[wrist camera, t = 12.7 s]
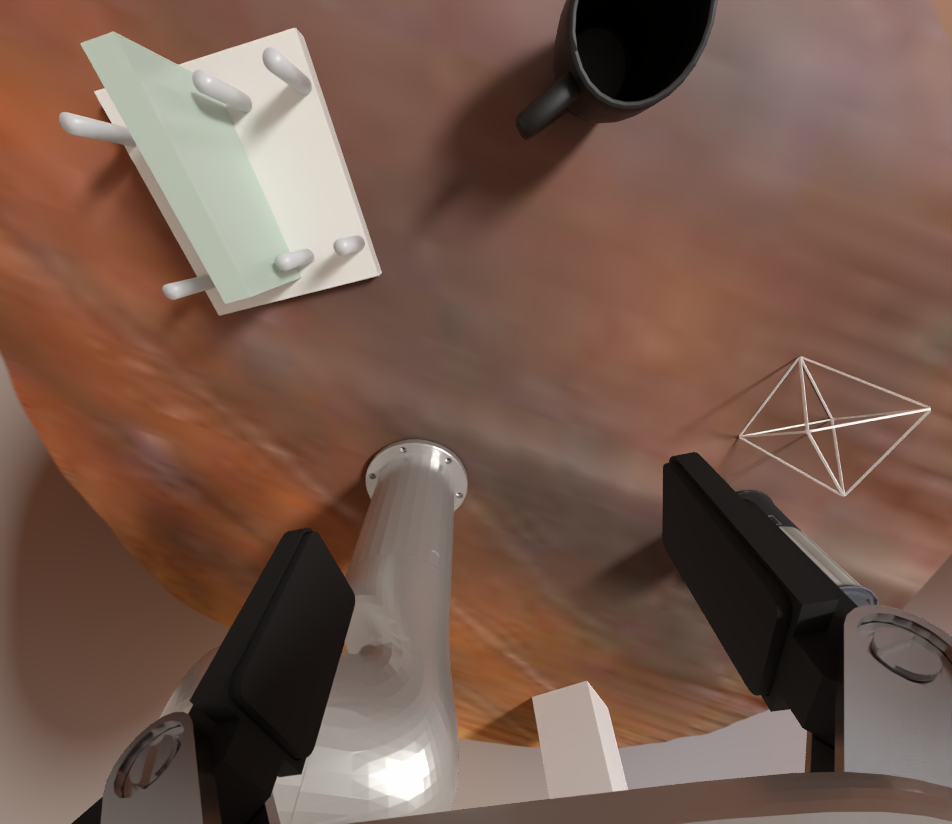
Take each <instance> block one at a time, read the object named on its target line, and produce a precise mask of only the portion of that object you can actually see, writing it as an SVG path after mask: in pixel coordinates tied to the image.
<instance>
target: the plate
mask: <svg viewBox="0 0 952 824" xmlns="http://www.w3.org/2000/svg"><path fill="white" fill-rule="evenodd" d="M80 44H81V46H82V47H83V49H84V51H85V53H86V55H87V56H88V58H89V60H90V62H91V64H92V65H93V67H94V69H95V71H96V73H97V74H98V76H99V78H100V80H101V82H102V83H103V85H104V87H105V89H106V91H107V92H108V94H109V96H110V98H111V100H112V101H113V103H114V105H115V107H116V109H117V110H118V112H119V114H120V116H121V118H122V119H123V121H124V123H125V125H126V127H127V128H128V130H129V132H130V134H131V136H132V137H133V139H134V141H135V143H136V145H137V146H138V148H139V150H140V152H141V154H142V155H143V157H144V159H145V161H146V163H147V164H148V166H149V168H150V170H151V171H152V173H153V175H154V177H155V179H156V180H157V182H158V184H159V186H160V188H161V189H162V191H163V193H164V195H165V197H166V198H167V200H168V202H169V204H170V206H171V207H172V209H173V211H174V213H175V215H176V216H177V218H178V220H179V222H180V224H181V225H182V227H183V229H184V231H185V233H186V234H187V236H188V238H189V240H190V242H191V243H192V245H193V247H194V249H195V251H196V252H197V254H198V256H199V258H200V260H201V261H202V263H203V265H204V267H205V269H206V270H207V272H208V274H209V276H210V278H211V279H212V281H213V283H214V285H215V287H216V288H217V290H218V292H219V294H220V296H221V297H222V299H223V301H224V303H225V304H227V303H231V302H234V301H238V300H242V299H246V298H249V297H252V296H255V295H258V294H260V293H263V292H265V291H268V290H270V289H273V288H276V287H278V286H281V285H283V284H286V283H288V282H291V281H294V280H296V279H299V278H301V275H300V273H299V271H298V268H293V269H290V270H287V271H282V270H280V269H279V268H278V267H277V266H276V264H275V258H276V256H277V255H279V254H284V253H288V252H290V250H289V248H288V246H287V244H286V242H285V239H284V237H283V235H282V233H281V230H280V228H279V226H278V224H277V221H276V219H275V217H274V215H273V212H272V210H271V208H270V206H269V203H268V201H267V199H266V197H265V194H264V192H263V190H262V188H261V185H260V183H259V181H258V179H257V176H256V174H255V172H254V170H253V167H252V165H251V163H250V161H249V158H248V156H247V154H246V152H245V149H244V147H243V145H242V143H241V140H240V138H239V136H238V134H237V131H236V129H235V127H234V125H233V122H232V120H231V118H230V116H229V113H228V111H227V109H226V107H225V105H224V103H222V102H220V101H218V100H216V99H213V98H211V97H209V96H207V95H205V94H202V93H200V92H199V91H198V90H197V89H196V88H195V86H194V84H193V80H192V75H193V72H191V71H189V70H187V69H185V68H183V67H181V66H179V65H177V64H175V63H174V62H172V61H170V60H168V59H166V58H164V57H162V56H160V55H158V54H156V53H154V52H152V51H150V50H148V49H146V48H144V47H142V46H141V45H139V44H137V43H135V42H133V41H131V40H129V39H127V38H125V37H123V36H121V35H119V34H117V33H115V32H111V33H108V34H105V35H102V36H99V37H97V38H94V39H91V40H88V41H85V42H83V43H80Z"/></svg>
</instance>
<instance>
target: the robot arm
mask: <svg viewBox="0 0 952 824" xmlns="http://www.w3.org/2000/svg"><path fill="white" fill-rule="evenodd" d="M365 484H366V489H367V492H368V494H369V496H370V499H371V502H370V505H369V508H368V511H367V514H366V517H365V520H364V523H363V526H362V529H361V532H360V535H359V538H358V541H357V544H356V547H355V550H354V552H353V555H352V558H351V561H350V564H349V567H348V571H347V574H346V577H344V575H343V573H342V572H341V570H340V568H339V567H338V565H337V563H336V562H335V560H334V558H333V557H332V555H331V553H330V552H329V550H328V548H327V547H326V545H325V543H324V542H323V540H322V538H321V537H320V535H319V534H318V533H317V532H313V531H312V529H310V528H304V529H299V530H293V531H288V532H287V533H285V534H284V535H283V537H282V539H281V540H280V542H279V544H278V546H277V547H276V549H275V551H274V553H273V554H272V556H271V558H270V560H269V561H268V563H267V565H266V567H265V568H264V570H263V572H262V574H261V576H260V577H259V579H258V581H257V583H256V584H255V586H254V588H253V590H252V591H251V593H250V595H249V597H248V598H247V600H246V602H245V604H244V605H243V607H242V609H241V611H240V612H239V614H238V616H237V618H236V619H235V621H234V623H233V625H232V626H231V628H230V630H229V632H228V634H227V635H226V637H225V639H224V641H223V642H222V644H221V646H219V647H217V648H215V649H213V650H211V651H210V652H208V653H207V654H205V655H204V656H203V657H202V658H201V659H200V660H198V661H197V662H196V663H195V664H194V665H193V666H192V668H191V669H190V670H189V671H188V672H187V674H186V675H185V676H184V678H183V679H182V680H181V682H180V683H179V685H178V686H177V688H176V689H175V691H174V692H173V694H172V696H171V698H170V699H169V701H168V703H167V705H166V707H165V709H164V711H163V713H162V715H161V716H160V718H159V719H158V720H156V721H155V722H153V723H152V724H150V725H149V726H148V727H147V728H146V729H145V730H143V731H142V732H141V733H140V734H139V735H138V736H137V737H136V738H135V739H134V740H133V741H132V742H131V743H130V744H129V746H128V747H127V748H126V749H125V750H124V751H123V753H122V754H121V756H120V757H119V759H118V760H117V762H116V763H115V765H114V766H113V768H112V771H111V772H110V775H109V777H108V779H107V781H106V785H105V789H104V793H103V797H102V798H101V799H100V800H98V801H97V802H96V803H95V804H94V805H93V806H91V807H90V808H89V809H88V810H87V811H86V812H84V813H83V814H82V815H81V816H80V817H79V818H77V819H76V820H75V821H74V822H73V823H72V824H952V637H951V636H950V635H949V634H948V633H946V632H945V631H944V630H942V629H941V628H939V627H937V626H935V625H933V624H932V623H930V622H929V621H927V620H925V619H923V618H921V617H918V616H916V615H914V614H911V613H909V612H906V611H904V610H900V609H896V608H892V607H888V606H881V605H865V606H861V607H858V606H857V605H856V604H855V603H854V602H853V601H852V600H851V599H850V598H849V597H848V596H847V595H846V594H845V593H844V592H843V591H842V590H841V589H840V588H839V587H838V586H837V585H836V584H835V583H834V582H833V581H832V580H831V579H830V578H829V577H828V576H827V575H826V574H825V573H824V572H823V571H822V570H821V569H820V568H819V567H818V566H817V565H816V564H815V563H814V562H813V561H812V560H811V559H810V558H809V557H808V556H807V555H806V554H805V553H804V552H803V551H802V550H801V549H800V548H799V547H798V546H797V545H796V544H795V543H794V542H793V541H792V540H791V539H790V538H789V537H788V536H787V535H786V534H785V533H784V532H783V531H782V530H781V529H780V528H779V527H778V526H777V525H776V524H775V523H774V522H773V521H772V520H771V519H770V518H769V517H768V516H767V515H766V514H765V513H764V512H763V511H762V510H761V509H760V508H759V507H758V506H757V505H756V504H755V503H754V502H752V501H751V500H749V499H742V498H741V497H740V496H739V495H738V494H737V493H736V492H735V491H734V490H733V489H732V488H731V487H730V486H729V485H728V484H727V483H726V482H725V481H724V480H723V479H722V478H721V476H720V475H719V474H718V473H717V472H716V471H715V470H714V469H713V468H712V467H711V466H710V465H709V464H708V463H707V462H706V461H705V460H704V459H703V458H702V457H701V456H700V455H699V454H698V453H696V452H692V453H687V454H682V455H677V456H672V457H671V458H670V460H669V463H666V464H664V466H663V534H662V537H663V543H664V546H665V549H666V551H667V553H668V554H669V556H670V558H671V559H672V561H673V563H674V565H675V566H676V568H677V570H678V571H679V573H680V575H681V576H682V578H683V580H684V581H685V583H686V585H687V586H688V588H689V590H690V592H691V593H692V595H693V597H694V598H695V600H696V602H697V603H698V605H699V607H700V608H701V610H702V612H703V613H704V615H705V617H706V619H707V620H708V622H709V624H710V625H711V627H712V629H713V630H714V632H715V634H716V635H717V637H718V639H719V640H720V642H721V644H722V646H723V647H724V649H725V651H726V652H727V654H728V656H729V657H730V659H731V661H732V662H733V664H734V666H735V667H736V669H737V671H738V673H739V674H740V676H741V678H742V679H743V681H744V683H745V684H746V686H747V687H748V689H749V690H750V691H751V692H752V693H753V694H754V695H761V696H762V698H763V699H764V701H765V703H766V704H767V706H768V707H769V709H770V711H771V712H772V711H779V710H787V709H791V711H792V712H793V714H794V715H795V717H796V718H797V720H798V722H799V723H800V725H801V726H802V728H804V729H805V730H807V744H806V761H805V773H789V774H778V775H768V776H757V777H746V778H736V779H725V780H714V781H704V782H694V783H685V784H676V785H667V786H658V787H650V788H641V789H632V790H623V791H615V792H606V793H597V794H588V795H580V796H571V797H562V798H554V799H546V800H537V801H529V802H520V803H512V804H504V805H496V806H488V807H479V808H470V809H462V810H454V811H451V810H452V807H453V804H454V800H455V795H456V790H457V782H458V773H459V772H458V770H459V741H458V726H457V718H456V710H455V702H454V693H453V685H452V675H451V664H450V636H449V629H450V595H451V571H452V548H453V524H454V511H456V510H457V509H458V507H459V506H460V505H461V504H462V502H463V500H464V499H465V496H466V493H467V484H468V483H467V474H466V470H465V468H464V466H463V464H462V462H461V461H460V460H459V458H458V457H457V456H456V455H455V454H454V453H453V452H451V451H450V450H449V449H447V448H445V447H443V446H442V445H440V444H437V443H434V442H431V441H426V440H420V439H409V440H403V441H398V442H395V443H392V444H390V445H388V446H386V447H385V448H383V449H382V450H380V451H379V452H378V453H377V454H376V455H375V456H374V458H373V459H372V460H371V462H370V465H369V467H368V469H367V473H366V483H365ZM344 644H345V646H346V649H347V652H348V653H342V649H343V646H344Z"/></svg>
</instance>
